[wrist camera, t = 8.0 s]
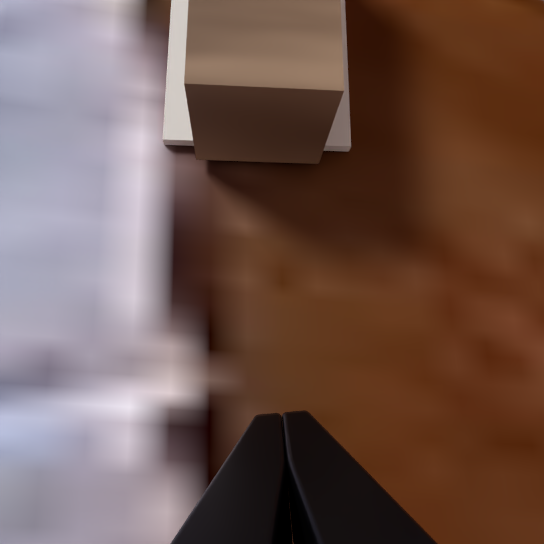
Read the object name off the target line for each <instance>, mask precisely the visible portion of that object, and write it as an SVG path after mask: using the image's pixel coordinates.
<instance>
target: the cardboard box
mask: <svg viewBox="0 0 544 544" xmlns="http://www.w3.org/2000/svg"><path fill="white" fill-rule="evenodd" d="M184 86H185V92H186V99H187V105H188V111H189V118H190V124H191V130H192V136H193V143H194V149H195V155H196V160H221V161H250V162H279V163H308V164H319V161H320V159H321V156H322V153H323V150H324V147H325V144H326V141H327V139H328V136H329V133H330V130H331V127H332V124H333V121H334V118H335V116H336V113H337V110H338V107H339V104H340V101H341V98H342V95H343V93H344V75H343V49H342V24H341V0H188V19H187V38H186V57H185V75H184Z"/></svg>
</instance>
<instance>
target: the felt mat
mask: <svg viewBox="0 0 544 544" xmlns="http://www.w3.org/2000/svg"><path fill="white" fill-rule="evenodd" d="M187 19H188V0H172V1H171V16H170V32H169V48H168V64H167V79H166V95H165V111H164V126H163V142H164V145H184V146H194V143H193V136H192V130H191V124H190V118H189V111H188V105H187V99H186V92H185V86H184V75H185V57H186V38H187ZM341 24H342V49H343V75H344V93H343V95H342V98H341V101H340V104H339V107H338V110H337V113H336V116H335V118H334V121H333V124H332V127H331V130H330V133H329V136H328V139H327V141H326V144H325V147H324V150H323V151H347V152H349V150H350V148H351V130H350V107H349V83H348V59H347V35H346V12H345V0H341Z"/></svg>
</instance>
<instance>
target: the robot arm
mask: <svg viewBox="0 0 544 544" xmlns="http://www.w3.org/2000/svg"><path fill="white" fill-rule="evenodd" d="M282 424H283V427H282ZM283 436H284V437H283ZM288 492H289V493H288ZM289 503H290V505H289ZM290 513H291V516H290ZM291 524H292V528H291ZM292 535H293V541H292ZM171 544H437V543H436V542H435V541H434V540H433V539H432V538H431V537H430V536H429V535H428V534H427V533H426V532H425V531H424V529H423V528H422V527H421V526H420V525H419V524H418V523H417V522H416V521H415V520H414V519H413V518H412V517H411V516H410V515H409V514H408V513H407V512H406V511H405V510H404V509H403V508H402V507H401V506H400V505H399V504H398V503H397V502H396V501H395V500H394V499H393V498H392V497H391V496H390V495H389V494H388V493H387V492H386V491H385V490H384V489H383V488H382V487H381V486H380V485H379V484H378V483H377V481H376V480H375V479H374V478H373V477H372V476H371V475H370V474H369V473H368V472H367V471H366V470H365V469H364V468H363V467H362V466H361V465H360V464H359V463H358V462H357V461H356V460H355V459H354V458H353V457H352V456H351V455H350V454H349V453H348V452H347V451H346V450H345V449H344V448H343V447H342V446H341V445H340V444H339V443H338V442H337V441H336V440H335V439H334V438H333V437H332V436H331V435H330V433H329V432H328V431H327V430H326V429H325V428H324V427H323V426H322V425H321V424H320V423H319V422H318V421H317V420H316V419H315V418H314V417H313V416H312V415H311V414H310V413H309V412H307V411H293V412H285V413H284V414H283V415H282V417H281V415H280V414H278V413H271V414H260V415H256V416H255V417H254V419H253V420H252V422H251V423H250V425H249V426H248V428H247V429H246V431H245V432H244V434H243V435H242V437H241V438H240V440H239V441H238V443H237V444H236V446H235V447H234V449H233V450H232V452H231V453H230V455H229V456H228V458H227V459H226V461H225V462H224V464H223V465H222V467H221V468H220V470H219V471H218V473H217V474H216V476H215V477H214V479H213V480H212V482H211V483H210V485H209V486H208V488H207V489H206V491H205V492H204V494H203V495H202V497H201V498H200V500H199V501H198V503H197V504H196V506H195V508H194V509H193V511H192V512H191V514H190V515H189V517H188V518H187V520H186V521H185V523H184V524H183V526H182V527H181V529H180V530H179V532H178V533H177V535H176V536H175V538H174V539H173V541H172V542H171Z"/></svg>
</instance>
